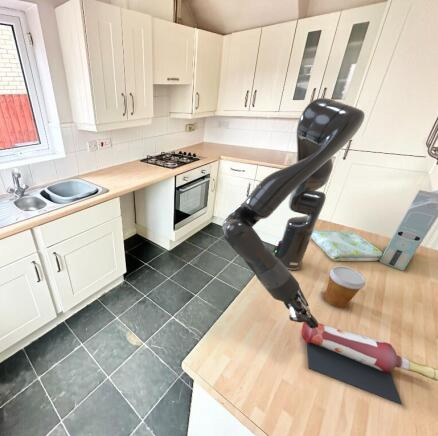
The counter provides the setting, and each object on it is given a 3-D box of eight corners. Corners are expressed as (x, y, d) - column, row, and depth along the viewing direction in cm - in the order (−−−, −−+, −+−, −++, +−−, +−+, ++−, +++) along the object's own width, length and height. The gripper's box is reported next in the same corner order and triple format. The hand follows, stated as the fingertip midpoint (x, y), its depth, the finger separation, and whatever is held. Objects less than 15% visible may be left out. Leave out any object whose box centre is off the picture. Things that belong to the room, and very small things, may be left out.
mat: (308, 368, 65) (308, 367, 65) (305, 332, 74) (306, 331, 74) (401, 404, 57) (401, 403, 57) (385, 359, 67) (385, 358, 67)
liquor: (304, 342, 67) (447, 394, 55) (308, 315, 70) (446, 360, 57) (299, 341, 74) (426, 388, 61) (303, 317, 76) (426, 357, 63)
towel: (382, 262, 103) (387, 252, 100) (331, 262, 103) (335, 252, 101) (350, 238, 119) (355, 229, 116) (307, 238, 119) (310, 229, 117)
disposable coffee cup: (348, 295, 87) (362, 269, 81) (355, 315, 79) (371, 288, 74) (317, 287, 91) (328, 262, 85) (321, 306, 83) (333, 279, 77)
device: (387, 247, 112) (421, 186, 97) (410, 255, 107) (450, 191, 92) (378, 262, 103) (414, 197, 88) (403, 271, 98) (445, 204, 83)
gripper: (289, 290, 57) (333, 344, 58) (289, 258, 67) (326, 304, 68) (260, 298, 62) (301, 348, 63) (264, 267, 72) (299, 311, 73)
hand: (314, 325), depth 65 cm, fingers closed
